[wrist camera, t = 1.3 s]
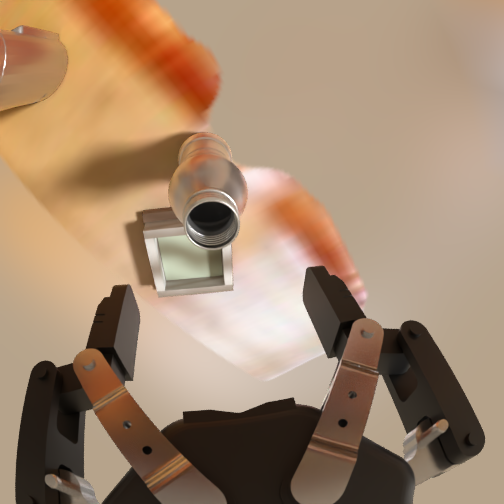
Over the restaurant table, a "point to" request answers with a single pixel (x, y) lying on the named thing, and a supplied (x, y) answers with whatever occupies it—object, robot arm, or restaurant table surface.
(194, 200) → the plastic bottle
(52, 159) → the restaurant table surface
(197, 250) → the socket board
